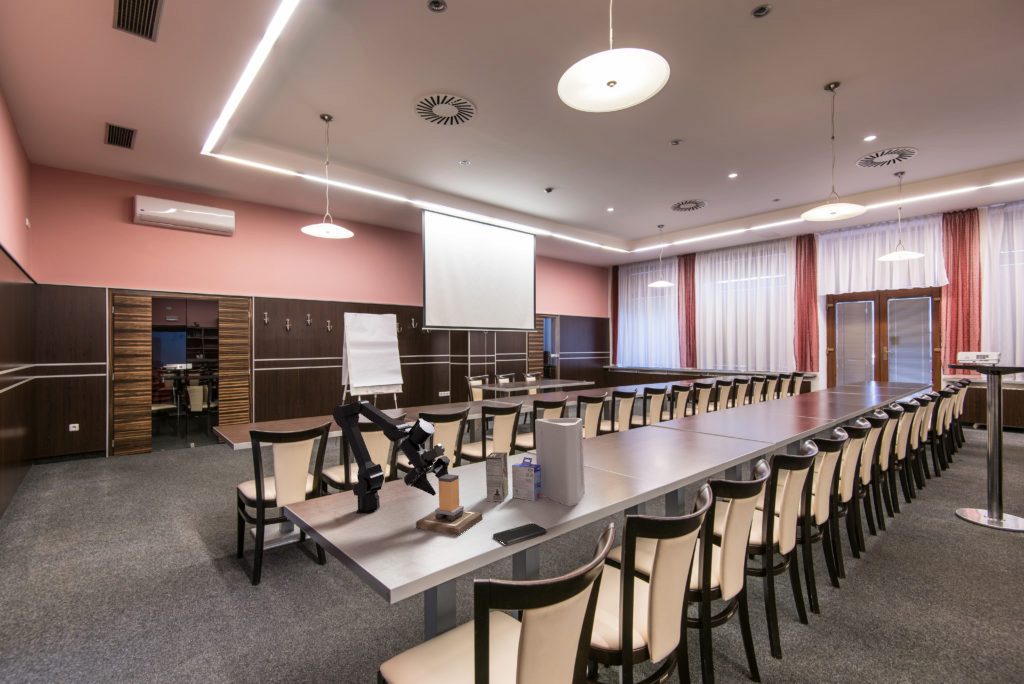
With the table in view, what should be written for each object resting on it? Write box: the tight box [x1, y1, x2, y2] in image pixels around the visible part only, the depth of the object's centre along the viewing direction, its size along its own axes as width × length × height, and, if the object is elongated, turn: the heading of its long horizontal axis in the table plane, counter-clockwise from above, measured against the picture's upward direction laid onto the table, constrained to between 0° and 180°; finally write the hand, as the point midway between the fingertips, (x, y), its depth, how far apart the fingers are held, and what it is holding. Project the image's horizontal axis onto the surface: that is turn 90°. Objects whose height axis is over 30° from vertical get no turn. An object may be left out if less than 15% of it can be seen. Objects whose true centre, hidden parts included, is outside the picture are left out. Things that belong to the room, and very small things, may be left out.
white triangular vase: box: [534, 417, 586, 507], centre depth 169 cm, size 19×15×28 cm
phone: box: [492, 522, 548, 546], centre depth 134 cm, size 8×1×15 cm
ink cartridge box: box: [511, 456, 542, 502], centre depth 168 cm, size 10×6×14 cm, turn 58°
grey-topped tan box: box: [434, 473, 465, 522], centre depth 145 cm, size 7×6×13 cm
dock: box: [415, 509, 483, 536], centre depth 144 cm, size 16×14×2 cm
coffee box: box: [485, 451, 509, 503], centre depth 169 cm, size 9×6×16 cm
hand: (443, 490), depth 146 cm, fingers open, 9 cm apart
